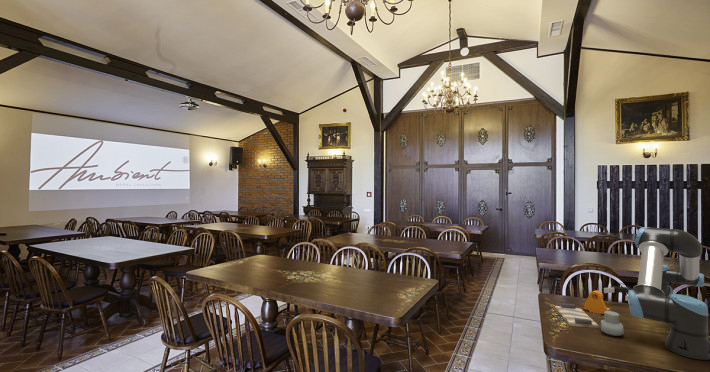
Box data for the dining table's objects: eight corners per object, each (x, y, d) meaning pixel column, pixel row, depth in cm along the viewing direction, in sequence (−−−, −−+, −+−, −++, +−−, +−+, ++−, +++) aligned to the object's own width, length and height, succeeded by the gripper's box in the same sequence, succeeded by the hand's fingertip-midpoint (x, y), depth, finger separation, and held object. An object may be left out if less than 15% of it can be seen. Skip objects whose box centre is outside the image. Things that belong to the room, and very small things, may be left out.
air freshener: (600, 327, 173) (600, 307, 173) (620, 331, 169) (620, 311, 169) (602, 335, 164) (602, 314, 164) (624, 339, 160) (624, 318, 160)
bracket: (610, 313, 193) (610, 292, 193) (605, 316, 188) (606, 294, 188) (588, 307, 201) (588, 287, 201) (583, 310, 197) (583, 289, 197)
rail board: (599, 328, 172) (599, 322, 172) (569, 325, 176) (569, 319, 176) (580, 310, 197) (580, 304, 197) (554, 307, 201) (554, 302, 201)
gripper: (668, 306, 188) (635, 308, 185) (625, 291, 213) (596, 293, 210) (668, 292, 188) (636, 294, 185) (625, 279, 213) (596, 281, 209)
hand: (614, 294), depth 197 cm, fingers open, 13 cm apart
